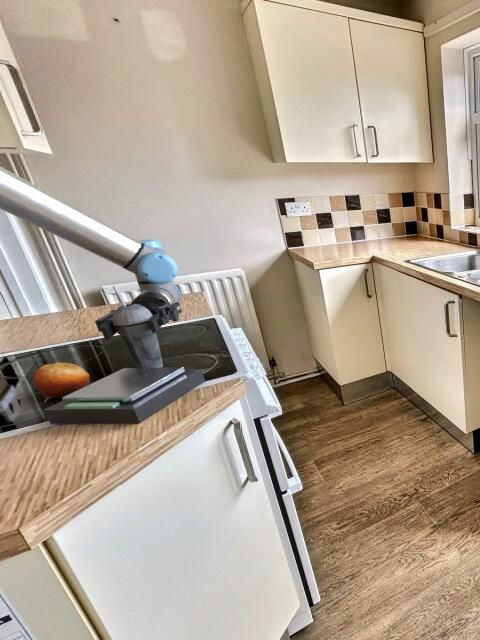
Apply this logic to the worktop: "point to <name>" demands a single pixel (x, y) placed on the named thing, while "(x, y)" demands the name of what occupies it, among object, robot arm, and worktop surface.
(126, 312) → the beverage cup
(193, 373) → the scale
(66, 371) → the fruit
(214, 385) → the worktop surface
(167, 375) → the scale pan
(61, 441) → the worktop surface
